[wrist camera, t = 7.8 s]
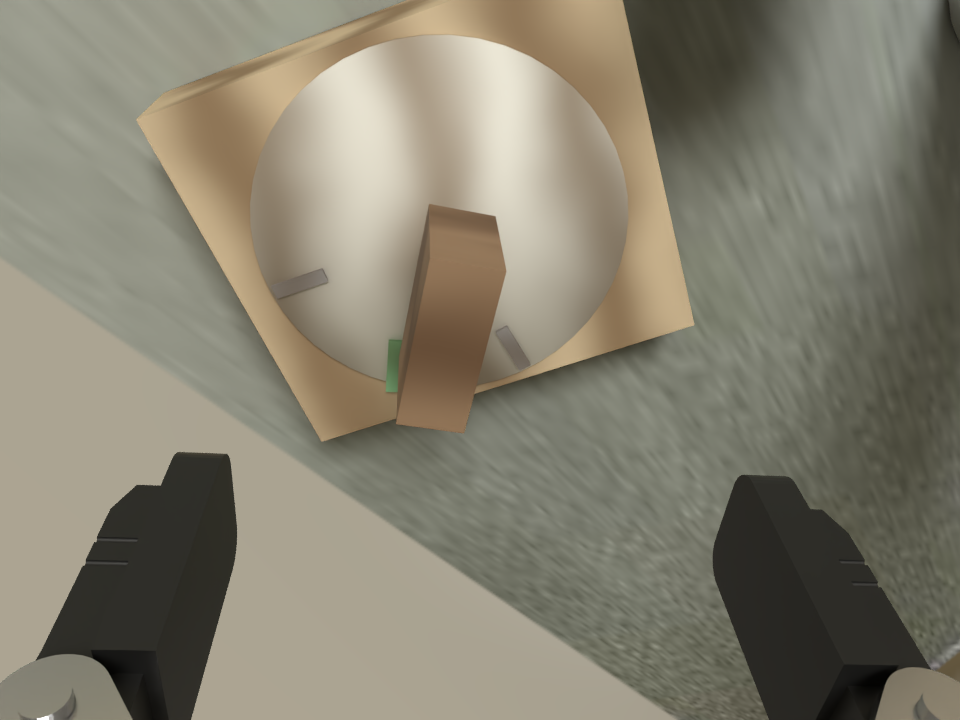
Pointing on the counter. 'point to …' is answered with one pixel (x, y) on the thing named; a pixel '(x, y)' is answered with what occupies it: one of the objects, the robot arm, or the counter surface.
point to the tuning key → (449, 318)
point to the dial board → (430, 189)
